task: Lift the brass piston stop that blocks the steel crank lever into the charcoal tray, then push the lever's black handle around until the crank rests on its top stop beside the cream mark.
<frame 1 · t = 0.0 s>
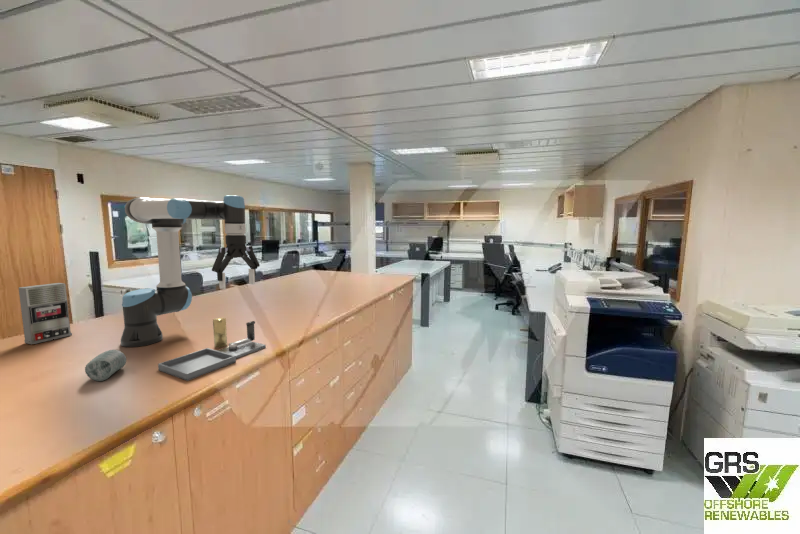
hand: (238, 286, 138), 28 cm above the worktop, fingers open, 13 cm apart
spool: (107, 375, 118), on the worktop
tray: (198, 366, 127), on the worktop
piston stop: (220, 345, 148), on the worktop
crank lever: (241, 334, 145), point 6 cm above the worktop, hinge at 90.0°
crank plate: (240, 350, 142), on the worktop
cassette tape recorder: (49, 339, 153), on the worktop
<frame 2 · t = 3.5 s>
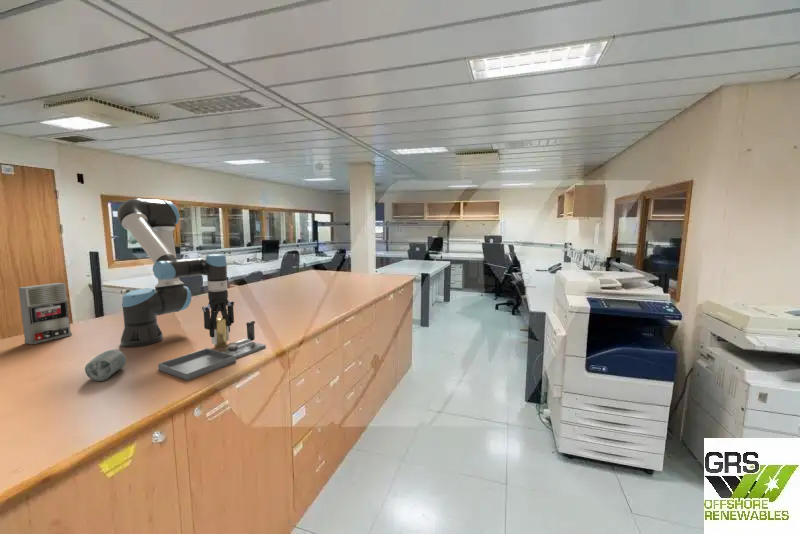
hand: (220, 341, 148), 2 cm above the worktop, fingers closed on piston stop, 5 cm apart
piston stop: (220, 345, 148), on the worktop, touching gripper
everything else where it was.
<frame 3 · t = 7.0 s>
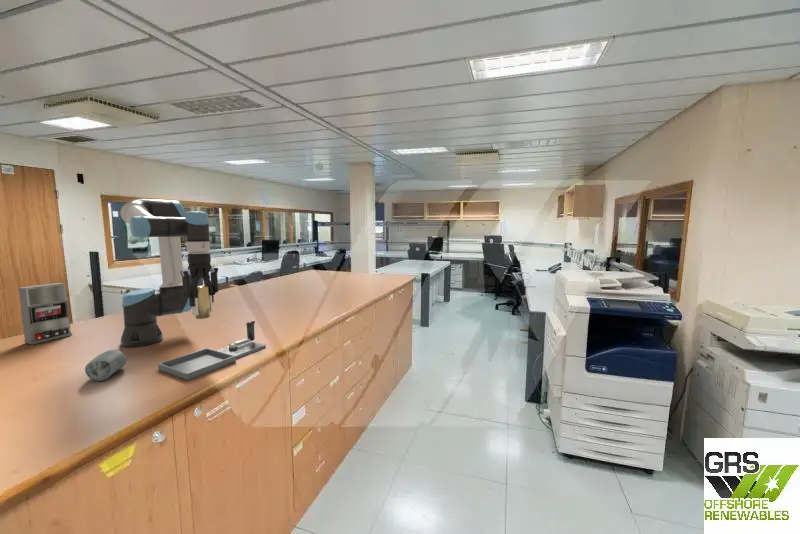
hand: (202, 312, 130), 19 cm above the worktop, fingers closed on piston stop, 5 cm apart
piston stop: (203, 317, 130), point 17 cm above the worktop, touching gripper
everything else where it was.
when the fingers open (4 cm above the worktop, at t = 10.6 s): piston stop stays where it is, resting on tray.
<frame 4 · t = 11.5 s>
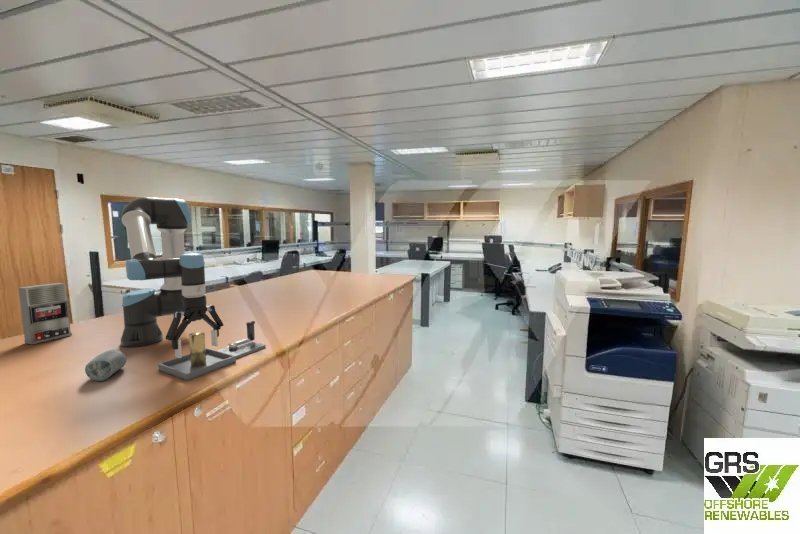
hand: (197, 351, 126), 6 cm above the worktop, fingers open, 13 cm apart
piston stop: (198, 364, 127), point 1 cm above the worktop, touching tray
everything else where it was.
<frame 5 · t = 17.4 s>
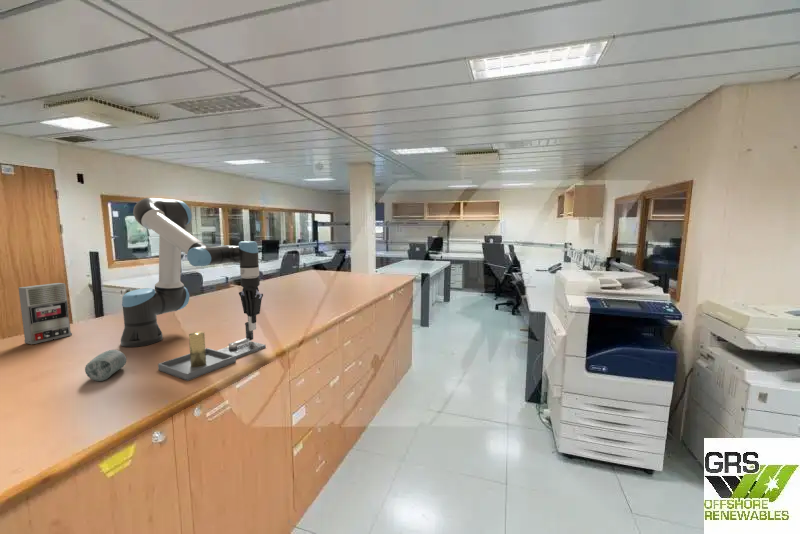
hand: (252, 329, 148), 7 cm above the worktop, fingers closed
crank lever: (241, 334, 145), point 6 cm above the worktop, hinge at 95.2°, touching gripper
everything else where it was.
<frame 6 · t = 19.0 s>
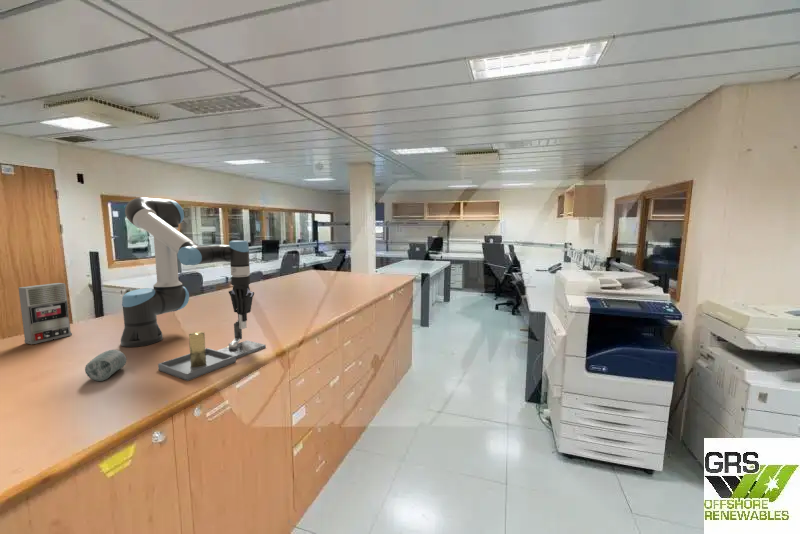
hand: (243, 328, 149), 7 cm above the worktop, fingers closed
crank lever: (235, 334, 145), point 6 cm above the worktop, hinge at 129.5°, touching gripper
everything else where it was.
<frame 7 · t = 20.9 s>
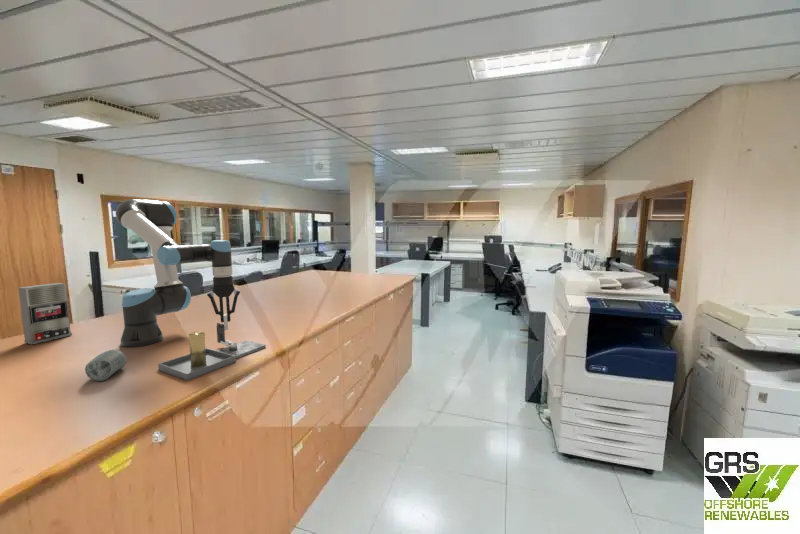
hand: (226, 329, 147), 8 cm above the worktop, fingers closed
crank lever: (226, 335, 143), point 6 cm above the worktop, hinge at 173.9°, touching gripper
everything else where it was.
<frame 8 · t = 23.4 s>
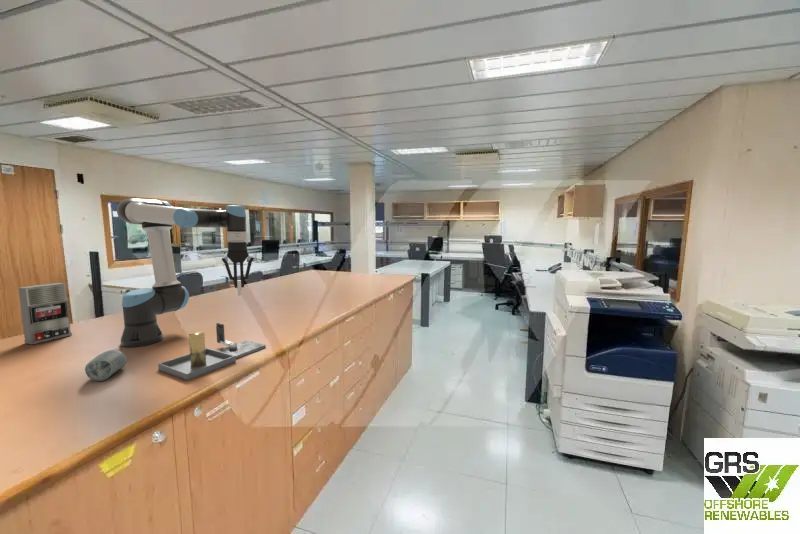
hand: (239, 294, 148), 22 cm above the worktop, fingers closed
crank lever: (226, 335, 143), point 6 cm above the worktop, hinge at 175.0°
everything else where it was.
at the end: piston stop inside the target area on the tray (0.0 cm from its centre), point 0.6 cm above the tray's base; crank lever at +175° (first picture: +90°) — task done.
